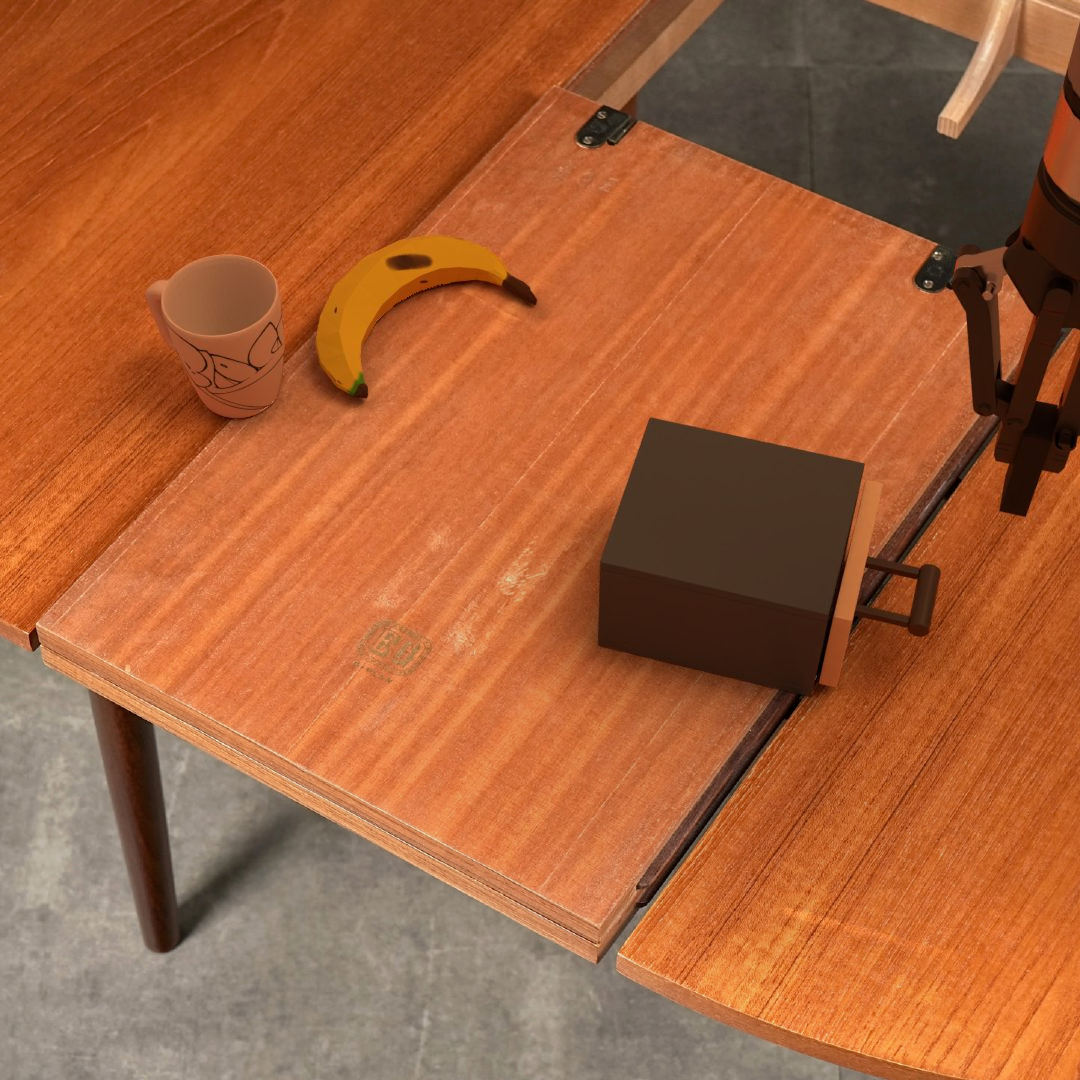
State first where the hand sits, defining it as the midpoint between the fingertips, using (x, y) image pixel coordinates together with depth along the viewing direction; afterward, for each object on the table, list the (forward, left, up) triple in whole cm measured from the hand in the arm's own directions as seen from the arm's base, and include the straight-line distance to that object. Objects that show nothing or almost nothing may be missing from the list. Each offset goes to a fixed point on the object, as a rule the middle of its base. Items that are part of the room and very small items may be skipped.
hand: (1015, 495), depth 96 cm
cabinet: (+16, -3, -20) cm, 26 cm away
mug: (+57, -12, -21) cm, 62 cm away
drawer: (+11, -3, -20) cm, 23 cm away
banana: (+44, -21, -21) cm, 53 cm away
